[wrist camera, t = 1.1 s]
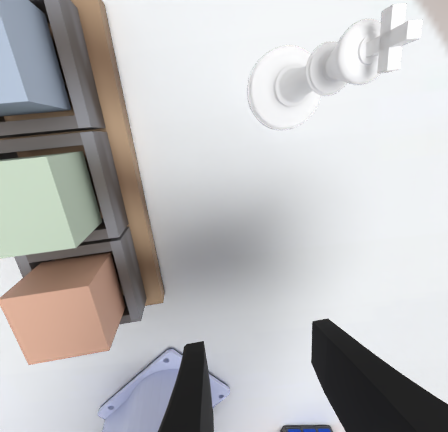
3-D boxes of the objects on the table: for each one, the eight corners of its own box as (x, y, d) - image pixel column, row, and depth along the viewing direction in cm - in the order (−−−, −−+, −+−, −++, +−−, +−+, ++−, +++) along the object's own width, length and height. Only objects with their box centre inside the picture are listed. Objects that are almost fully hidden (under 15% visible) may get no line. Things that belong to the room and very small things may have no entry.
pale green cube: (102, 221, 14) (76, 248, 11) (29, 231, 14) (-21, 261, 11) (82, 151, 13) (46, 156, 10) (1, 159, 13) (-66, 168, 9)
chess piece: (250, 134, 17) (328, 134, 7) (243, 51, 15) (332, -86, 6) (319, 125, 17) (475, 114, 8) (319, 43, 16) (516, -96, 6)
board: (164, 293, 20) (159, 324, 16) (59, 310, 19) (32, 346, 16) (104, 4, 14) (76, -38, 10) (-55, 12, 13) (-139, -31, 10)
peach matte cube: (125, 306, 16) (109, 350, 13) (62, 317, 16) (28, 364, 13) (110, 252, 15) (88, 286, 12) (41, 262, 15) (-3, 300, 11)
